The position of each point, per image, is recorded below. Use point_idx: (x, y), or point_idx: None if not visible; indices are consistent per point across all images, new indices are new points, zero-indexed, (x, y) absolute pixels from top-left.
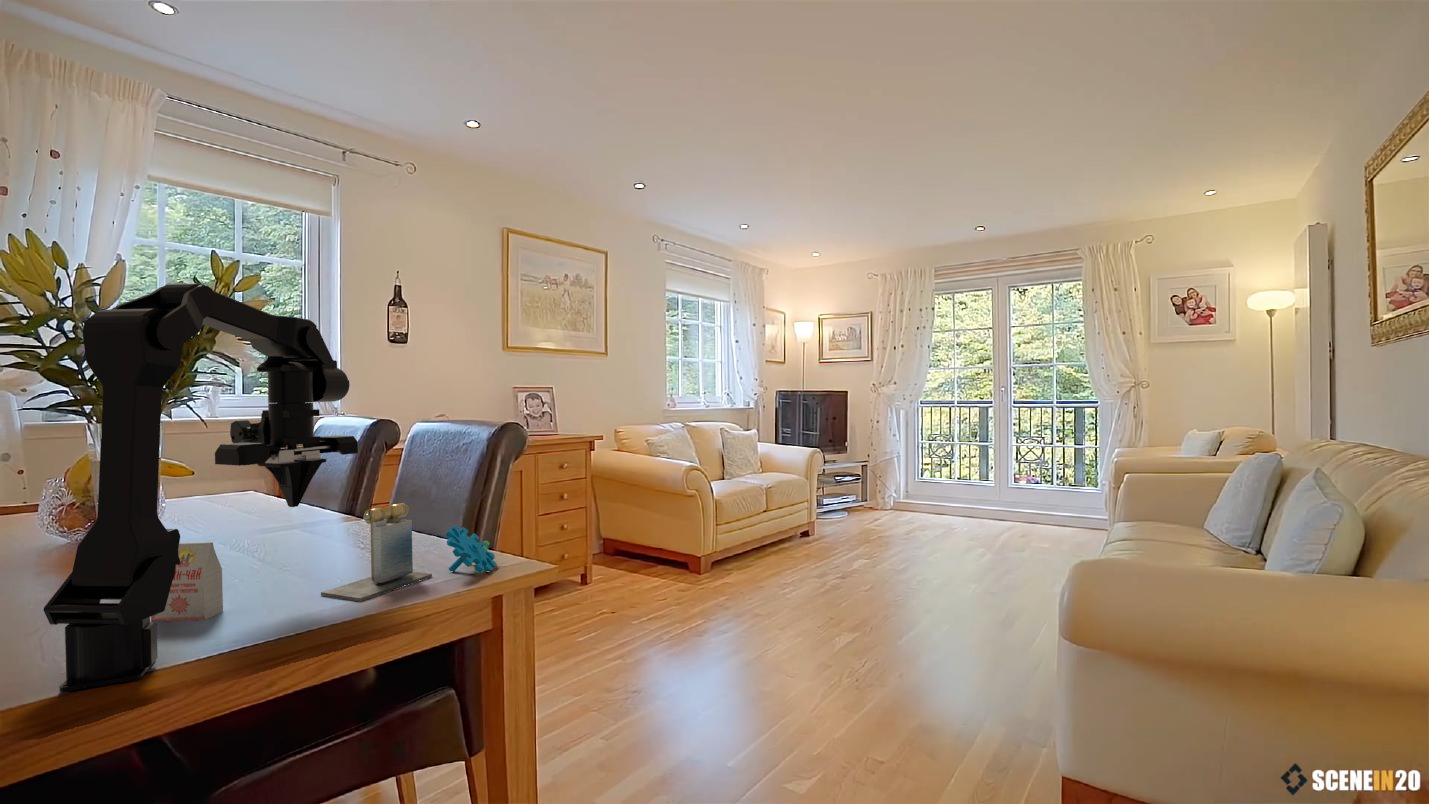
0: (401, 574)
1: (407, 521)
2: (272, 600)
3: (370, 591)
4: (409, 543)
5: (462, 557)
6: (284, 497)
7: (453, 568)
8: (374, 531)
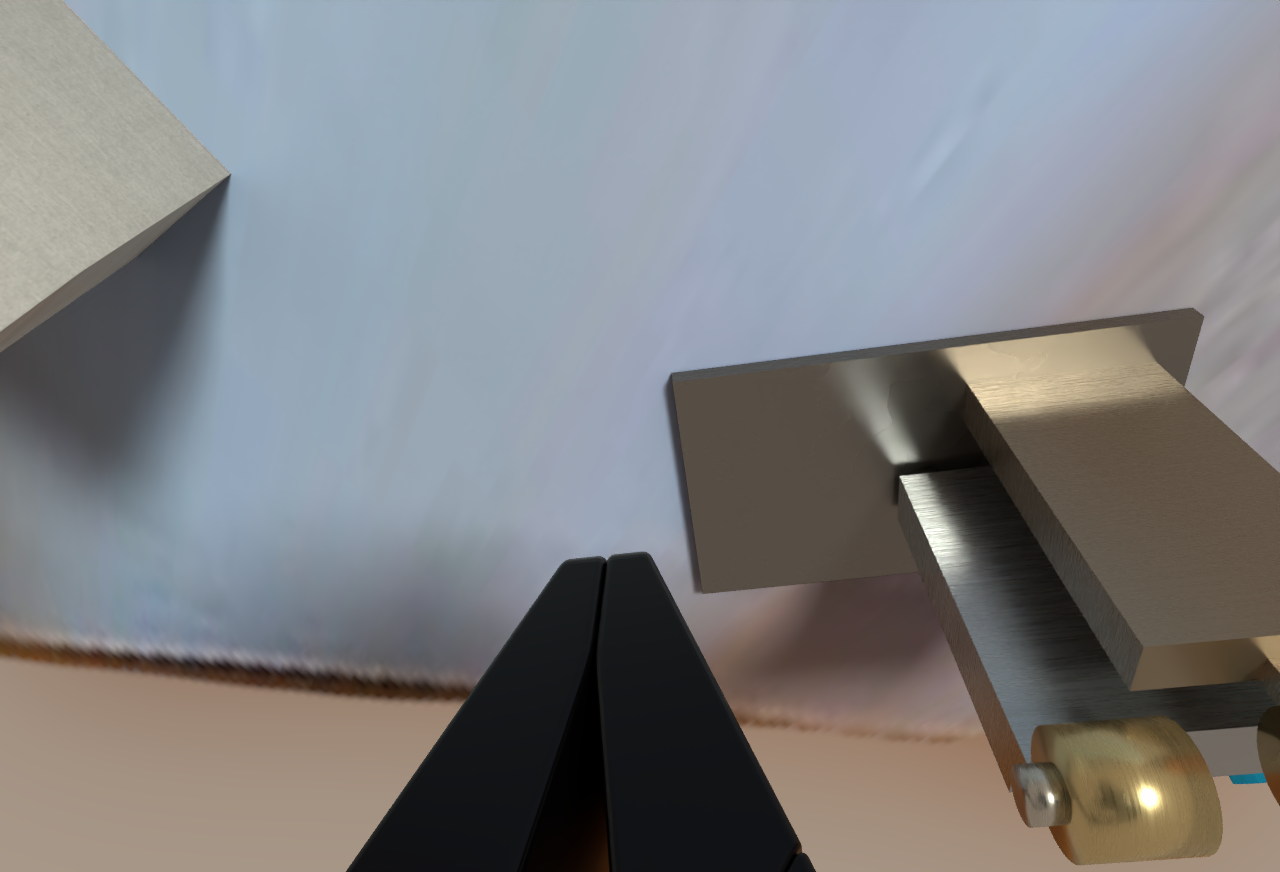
0: None
1: None
2: (484, 222)
3: (791, 553)
4: None
5: None
6: (492, 663)
7: None
8: (1003, 721)
